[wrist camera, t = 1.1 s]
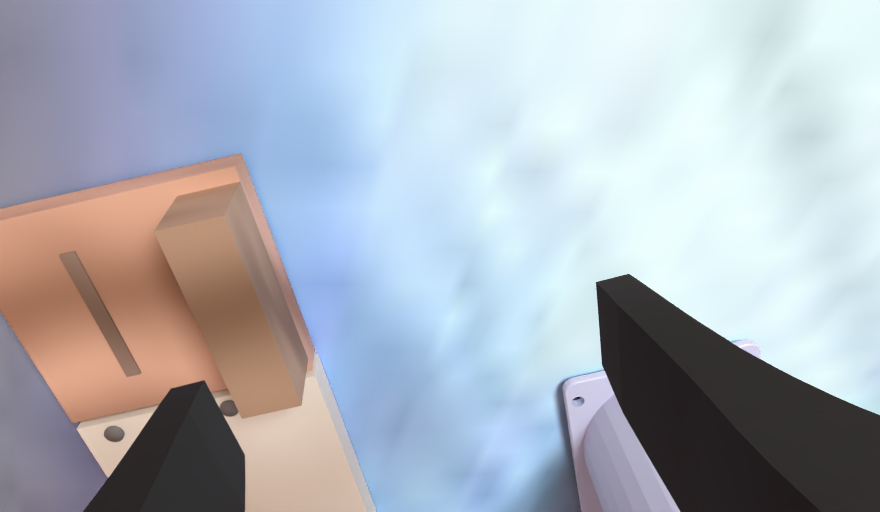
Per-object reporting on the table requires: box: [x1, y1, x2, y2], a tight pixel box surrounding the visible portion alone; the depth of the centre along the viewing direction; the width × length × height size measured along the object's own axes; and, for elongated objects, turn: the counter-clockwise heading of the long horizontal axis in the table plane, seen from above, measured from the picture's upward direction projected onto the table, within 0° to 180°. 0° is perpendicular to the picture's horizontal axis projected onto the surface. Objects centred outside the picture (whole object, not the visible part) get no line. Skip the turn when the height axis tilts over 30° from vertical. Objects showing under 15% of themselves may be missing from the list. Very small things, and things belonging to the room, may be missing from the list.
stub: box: [0, 153, 315, 423], centre depth 22 cm, size 8×9×4 cm
